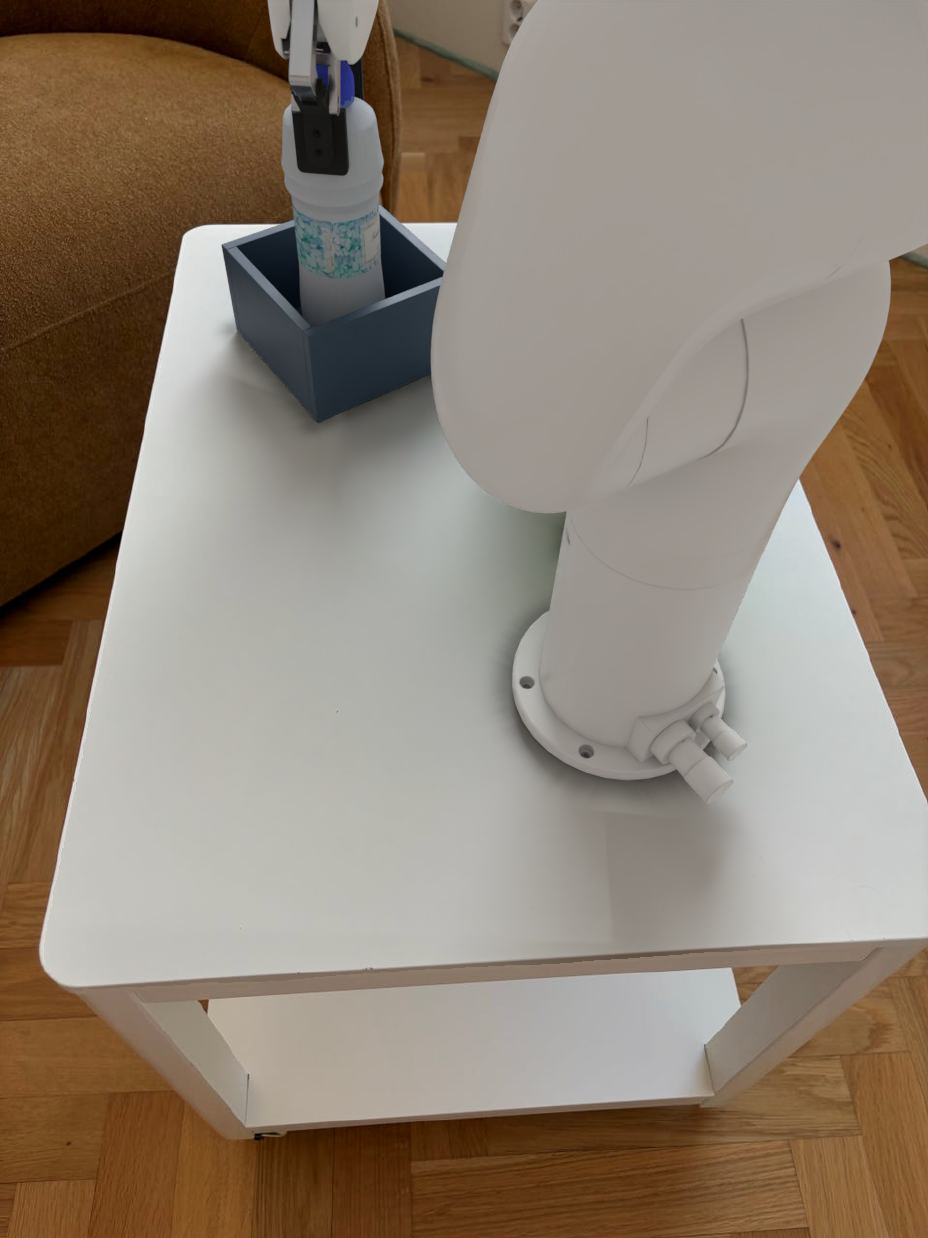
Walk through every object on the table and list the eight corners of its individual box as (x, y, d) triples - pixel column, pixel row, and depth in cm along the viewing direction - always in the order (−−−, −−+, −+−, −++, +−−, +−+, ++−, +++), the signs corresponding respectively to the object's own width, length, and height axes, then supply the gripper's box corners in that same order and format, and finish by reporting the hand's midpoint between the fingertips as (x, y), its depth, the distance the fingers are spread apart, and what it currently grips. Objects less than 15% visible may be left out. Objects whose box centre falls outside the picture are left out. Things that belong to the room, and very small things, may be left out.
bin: (459, 362, 77) (462, 276, 71) (317, 422, 72) (308, 337, 66) (372, 279, 83) (368, 193, 77) (236, 330, 78) (220, 244, 72)
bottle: (385, 361, 74) (376, 89, 58) (296, 358, 74) (262, 84, 58) (391, 306, 78) (384, 37, 62) (306, 302, 78) (277, 32, 62)
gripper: (355, -142, 45) (371, 223, 59) (401, -249, 55) (405, 84, 70) (191, -153, 45) (247, 213, 59) (267, -258, 55) (299, 76, 70)
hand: (332, 141), depth 64 cm, fingers closed on bottle, 6 cm apart
